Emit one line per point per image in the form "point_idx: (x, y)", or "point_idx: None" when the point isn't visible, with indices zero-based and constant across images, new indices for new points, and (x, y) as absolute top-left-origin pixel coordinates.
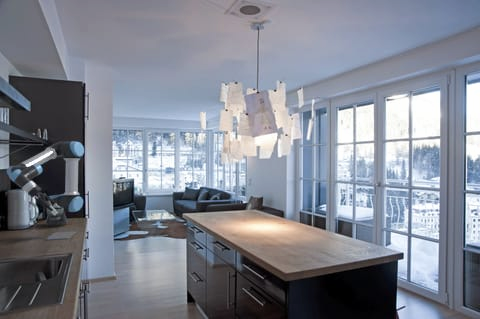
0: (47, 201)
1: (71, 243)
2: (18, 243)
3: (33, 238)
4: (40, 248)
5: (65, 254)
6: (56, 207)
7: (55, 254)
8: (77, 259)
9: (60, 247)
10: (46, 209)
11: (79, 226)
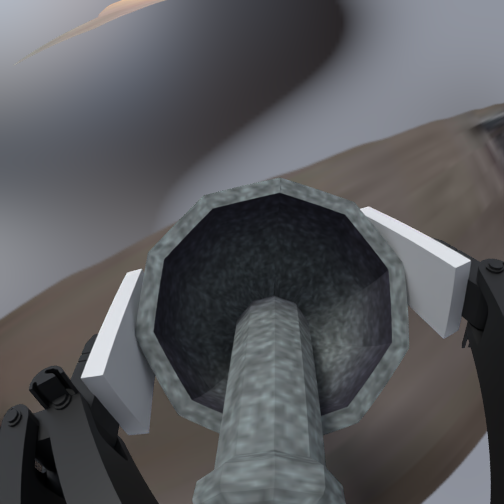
0: (337, 500)
1: (395, 169)
2: (436, 433)
3: (325, 449)
4: (485, 251)
5: (485, 140)
6: (145, 349)
7: (497, 164)
8: (488, 108)
9: (451, 183)
10: (360, 416)
11: (15, 328)
